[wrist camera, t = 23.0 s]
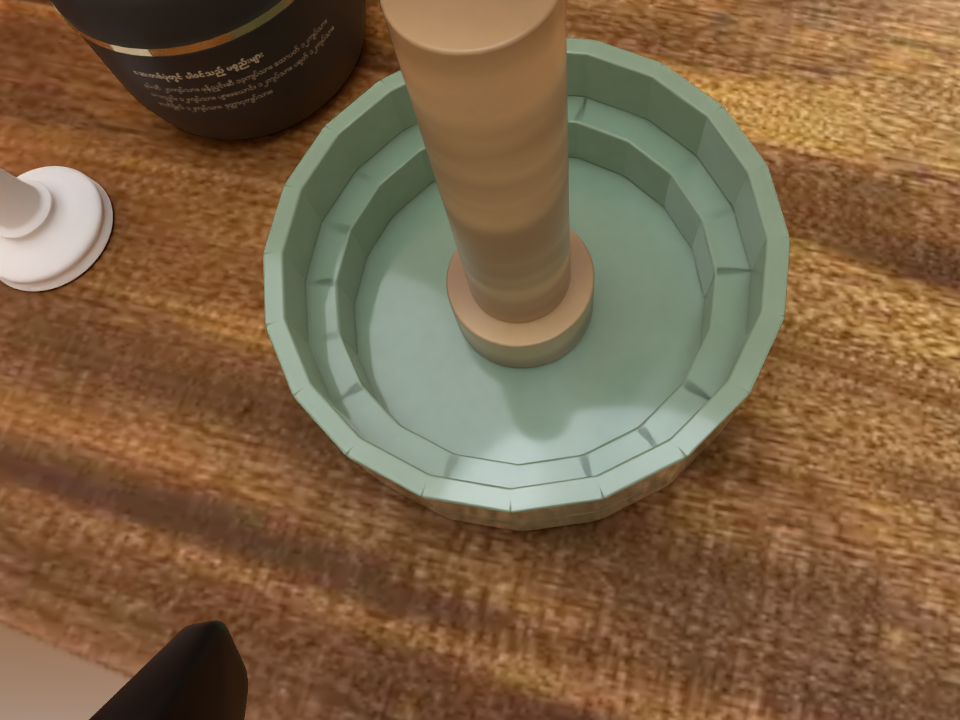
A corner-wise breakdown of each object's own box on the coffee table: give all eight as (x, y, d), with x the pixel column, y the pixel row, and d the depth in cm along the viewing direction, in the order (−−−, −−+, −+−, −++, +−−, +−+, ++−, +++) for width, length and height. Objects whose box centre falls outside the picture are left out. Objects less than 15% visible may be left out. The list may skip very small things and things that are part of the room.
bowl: (521, 636, 21) (508, 639, 17) (233, 316, 26) (167, 255, 22) (847, 304, 24) (907, 233, 19) (528, 60, 28) (519, -39, 24)
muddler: (603, 358, 23) (633, 62, 11) (463, 377, 24) (342, 113, 11) (581, 232, 25) (586, -148, 13) (449, 253, 25) (330, -98, 13)
